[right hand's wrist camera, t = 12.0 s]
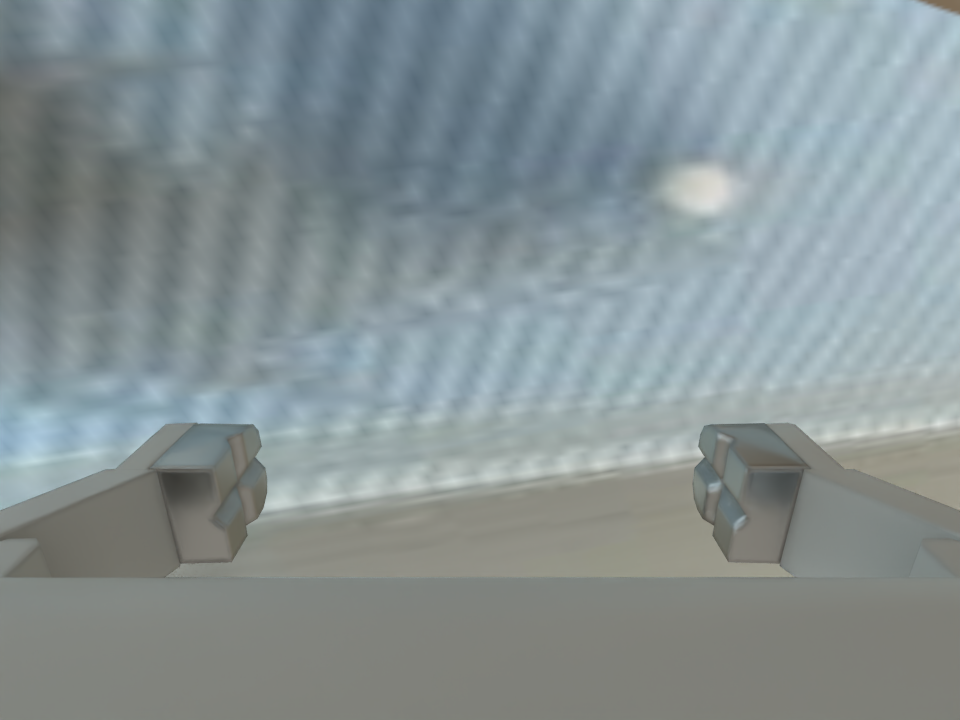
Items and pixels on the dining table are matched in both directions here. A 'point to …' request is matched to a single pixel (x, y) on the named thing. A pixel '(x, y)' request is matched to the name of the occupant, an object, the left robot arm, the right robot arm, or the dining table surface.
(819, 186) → the dining table surface
